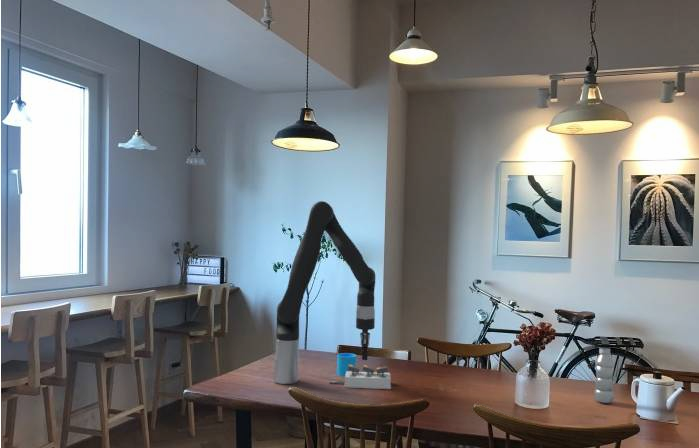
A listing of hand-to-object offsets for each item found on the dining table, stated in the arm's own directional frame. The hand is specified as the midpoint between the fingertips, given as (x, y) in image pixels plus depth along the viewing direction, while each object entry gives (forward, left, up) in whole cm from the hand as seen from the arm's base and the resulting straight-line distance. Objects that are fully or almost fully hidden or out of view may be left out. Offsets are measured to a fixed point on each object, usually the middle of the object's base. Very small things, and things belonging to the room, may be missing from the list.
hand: (364, 359), depth 216 cm
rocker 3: (+7, 0, -5) cm, 9 cm away
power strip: (-2, -1, -10) cm, 10 cm away
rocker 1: (-5, 0, -5) cm, 7 cm away
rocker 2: (+1, 0, -5) cm, 5 cm away
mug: (-8, +17, -10) cm, 21 cm away
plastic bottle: (+89, -13, -10) cm, 91 cm away
